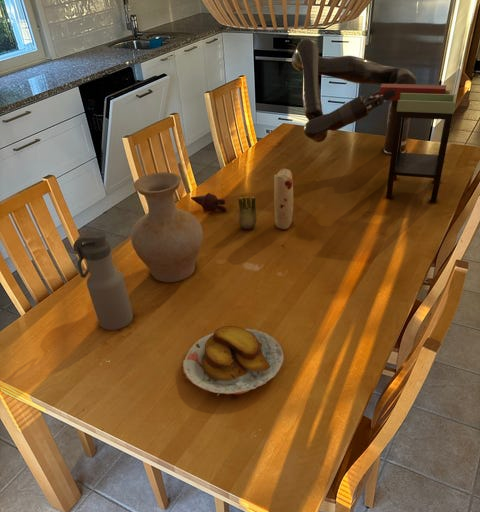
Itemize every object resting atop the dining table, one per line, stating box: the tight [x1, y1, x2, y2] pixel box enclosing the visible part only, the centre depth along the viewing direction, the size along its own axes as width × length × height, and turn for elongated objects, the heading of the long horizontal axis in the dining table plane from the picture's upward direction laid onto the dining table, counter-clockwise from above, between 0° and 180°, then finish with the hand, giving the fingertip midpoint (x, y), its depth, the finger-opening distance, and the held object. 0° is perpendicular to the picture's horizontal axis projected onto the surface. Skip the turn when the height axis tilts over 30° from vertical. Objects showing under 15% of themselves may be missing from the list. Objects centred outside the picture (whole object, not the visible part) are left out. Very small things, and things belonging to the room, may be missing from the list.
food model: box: [273, 168, 294, 230], centre depth 176 cm, size 10×7×20 cm
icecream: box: [190, 192, 228, 213], centre depth 193 cm, size 7×7×15 cm
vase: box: [130, 171, 204, 283], centre depth 155 cm, size 22×22×30 cm
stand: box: [385, 111, 454, 204], centre depth 187 cm, size 19×18×32 cm
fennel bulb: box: [237, 196, 258, 230], centre depth 178 cm, size 6×5×12 cm
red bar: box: [379, 84, 451, 102], centre depth 180 cm, size 4×24×4 cm, turn 70°
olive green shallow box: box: [397, 93, 457, 115], centre depth 172 cm, size 9×18×4 cm, turn 70°
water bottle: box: [72, 230, 134, 331], centre depth 137 cm, size 10×10×28 cm
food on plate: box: [182, 325, 286, 397], centre depth 126 cm, size 25×25×7 cm
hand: (396, 88), depth 181 cm, fingers open, 7 cm apart
